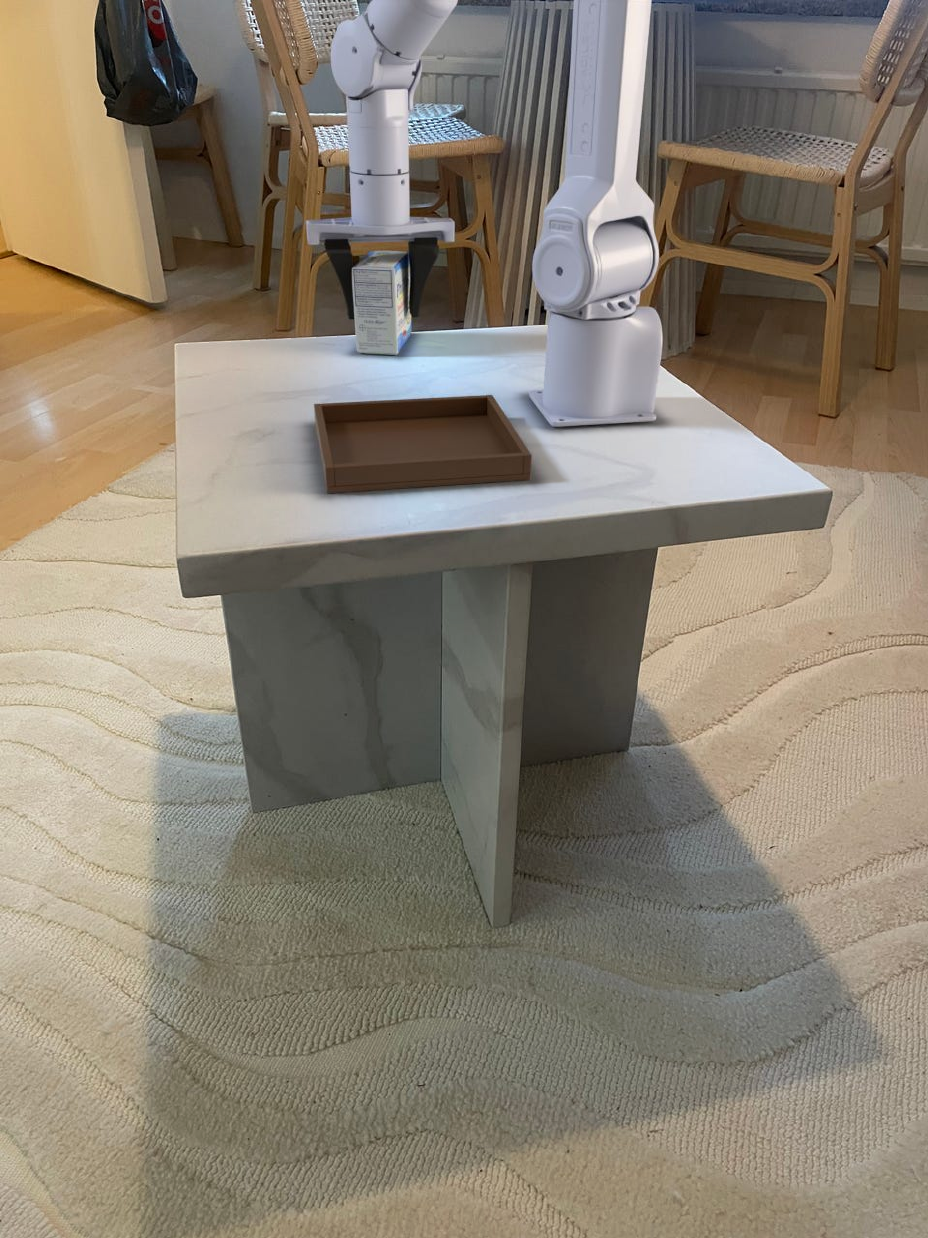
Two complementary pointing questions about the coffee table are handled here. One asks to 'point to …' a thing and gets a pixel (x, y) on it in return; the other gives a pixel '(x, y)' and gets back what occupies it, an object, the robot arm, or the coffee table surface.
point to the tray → (418, 443)
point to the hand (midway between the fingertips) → (383, 315)
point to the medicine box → (382, 302)
